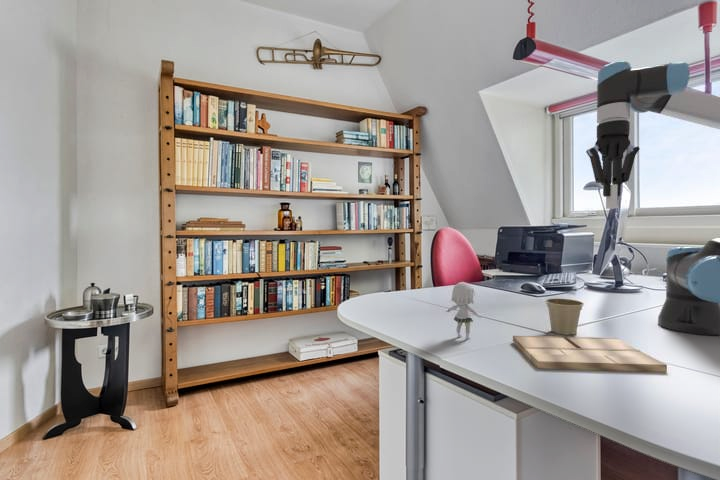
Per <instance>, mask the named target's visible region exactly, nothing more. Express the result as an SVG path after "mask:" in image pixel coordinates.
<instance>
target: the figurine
mask: <svg viewBox="0 0 720 480" xmlns="http://www.w3.org/2000/svg"><path fill="white" fill-rule="evenodd" d="M474 297H476V293H475V290H474V288H473V286H472V285H471V284H470V283H467V282H466V281H465V282H464V281H461V282H460V281H459V282H458V283H456V284H455V285H454V286H453V288H452V295H451V301H450V302H453V303H454V305H452V307H449V309H448V310H446V311H445V313H450V312H451V311H455V310H457V309H458V308H459V310H458V312H457V313H456V314H455V315H454V318H453V320H454V321H455V322H457V326H456V333H457V338H458V339H459V338H462V335H461V329H462V327H463V323H464V326H465V330H464V331H465V340H470V339H471V338H470V337H469V336H470V333H471V323H473V322H474V320H473V315H472V314H474V315H475V316H476V317H478V318H479V319H482V317H481V315H479V314H478V313H477V312H476V311H475V310H474V308H472V307H471V306H470V305H471V304H472V305H474V304H475V303H474ZM471 313H472V314H471Z"/></svg>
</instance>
